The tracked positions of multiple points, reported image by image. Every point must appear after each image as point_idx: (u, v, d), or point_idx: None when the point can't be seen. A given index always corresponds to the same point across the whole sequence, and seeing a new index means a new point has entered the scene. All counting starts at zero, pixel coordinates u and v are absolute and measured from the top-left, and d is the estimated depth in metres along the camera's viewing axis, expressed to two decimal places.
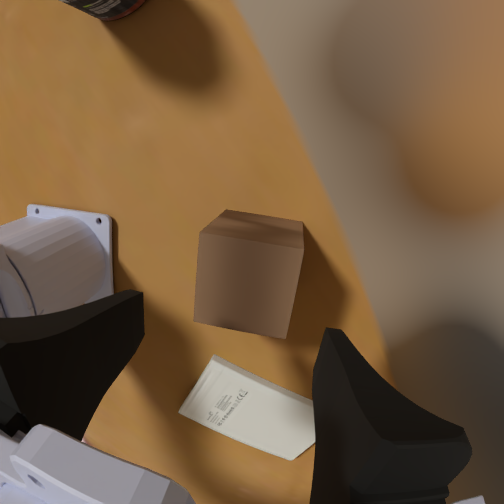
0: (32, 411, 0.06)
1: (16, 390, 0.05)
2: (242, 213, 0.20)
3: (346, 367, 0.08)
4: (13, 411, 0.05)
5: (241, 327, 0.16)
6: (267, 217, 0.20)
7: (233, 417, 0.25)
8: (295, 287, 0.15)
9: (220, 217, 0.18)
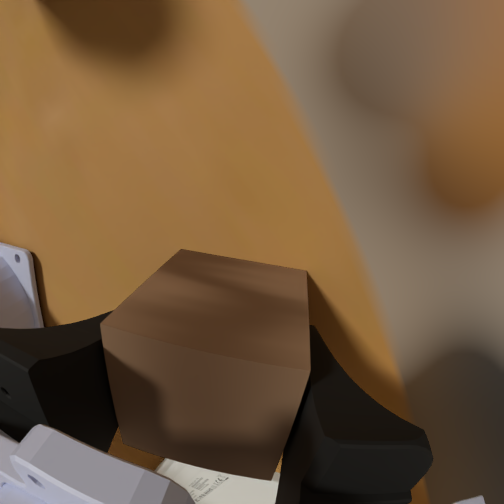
0: (62, 428, 0.05)
1: (47, 408, 0.05)
2: (205, 257, 0.12)
3: (310, 362, 0.08)
4: None
5: (197, 463, 0.08)
6: (246, 265, 0.12)
7: (212, 496, 0.17)
8: (289, 426, 0.07)
9: (161, 272, 0.10)
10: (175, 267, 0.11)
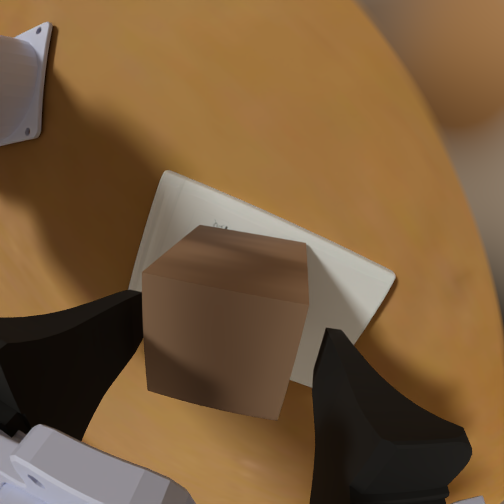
0: (32, 411, 0.06)
1: (16, 390, 0.05)
2: (220, 231, 0.14)
3: (346, 367, 0.08)
4: (13, 411, 0.05)
5: (213, 404, 0.11)
6: (256, 237, 0.14)
7: None
8: (293, 358, 0.09)
9: (185, 240, 0.12)
10: (197, 237, 0.13)
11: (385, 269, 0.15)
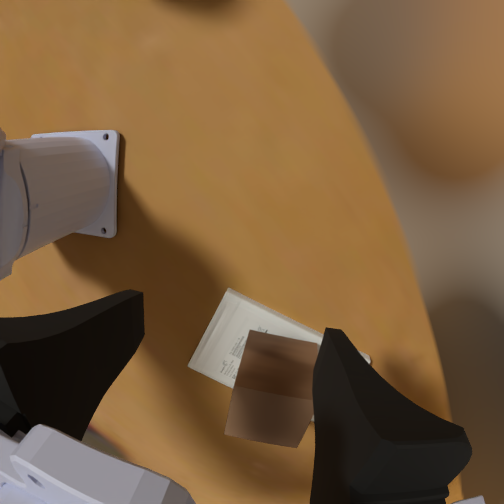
0: (32, 411, 0.06)
1: (16, 390, 0.05)
2: (264, 336, 0.22)
3: (346, 367, 0.08)
4: (13, 411, 0.05)
5: (262, 440, 0.18)
6: (286, 341, 0.22)
7: None
8: (309, 421, 0.17)
9: (246, 350, 0.20)
10: (252, 345, 0.21)
11: (364, 356, 0.23)
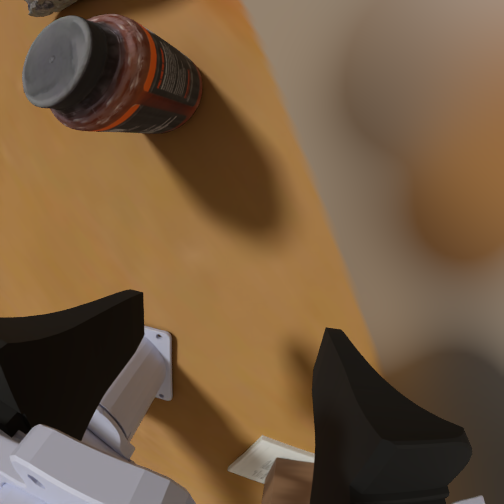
0: (32, 411, 0.06)
1: (16, 390, 0.05)
2: (286, 462, 0.27)
3: (346, 367, 0.08)
4: (13, 411, 0.05)
5: None
6: (302, 465, 0.27)
7: None
8: None
9: (276, 476, 0.25)
10: (279, 472, 0.25)
11: None
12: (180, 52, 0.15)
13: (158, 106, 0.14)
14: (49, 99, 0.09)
